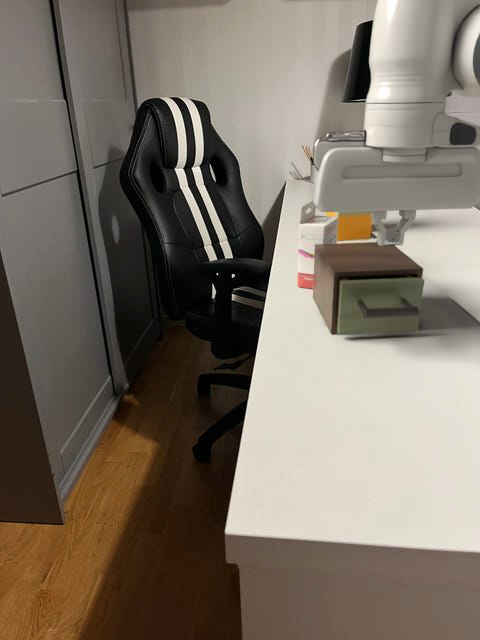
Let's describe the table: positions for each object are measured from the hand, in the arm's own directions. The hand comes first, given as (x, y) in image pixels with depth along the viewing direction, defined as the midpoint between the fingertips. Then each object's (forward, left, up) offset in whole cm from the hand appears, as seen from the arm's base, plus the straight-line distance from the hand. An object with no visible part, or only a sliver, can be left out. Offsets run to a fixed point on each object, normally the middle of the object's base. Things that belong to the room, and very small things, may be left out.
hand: (389, 244), depth 64 cm
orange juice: (-10, -59, -15) cm, 62 cm away
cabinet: (0, -11, -14) cm, 18 cm away
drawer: (0, -6, -13) cm, 15 cm away
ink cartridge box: (+4, -26, -15) cm, 30 cm away
